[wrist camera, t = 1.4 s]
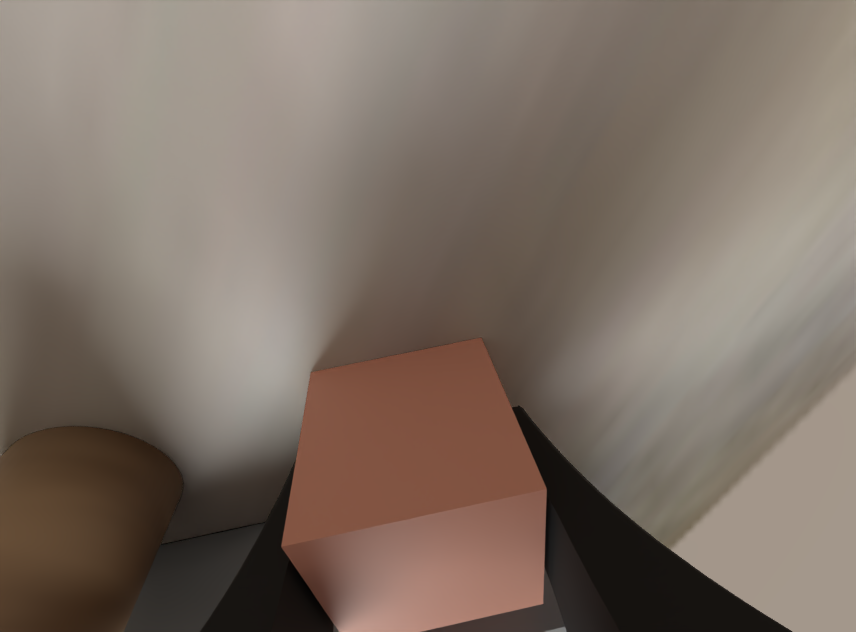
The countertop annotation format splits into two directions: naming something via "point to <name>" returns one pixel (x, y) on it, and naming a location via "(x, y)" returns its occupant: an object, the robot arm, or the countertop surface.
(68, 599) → the cylinder
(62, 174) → the countertop surface
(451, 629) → the box
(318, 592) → the cube
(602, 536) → the robot arm
